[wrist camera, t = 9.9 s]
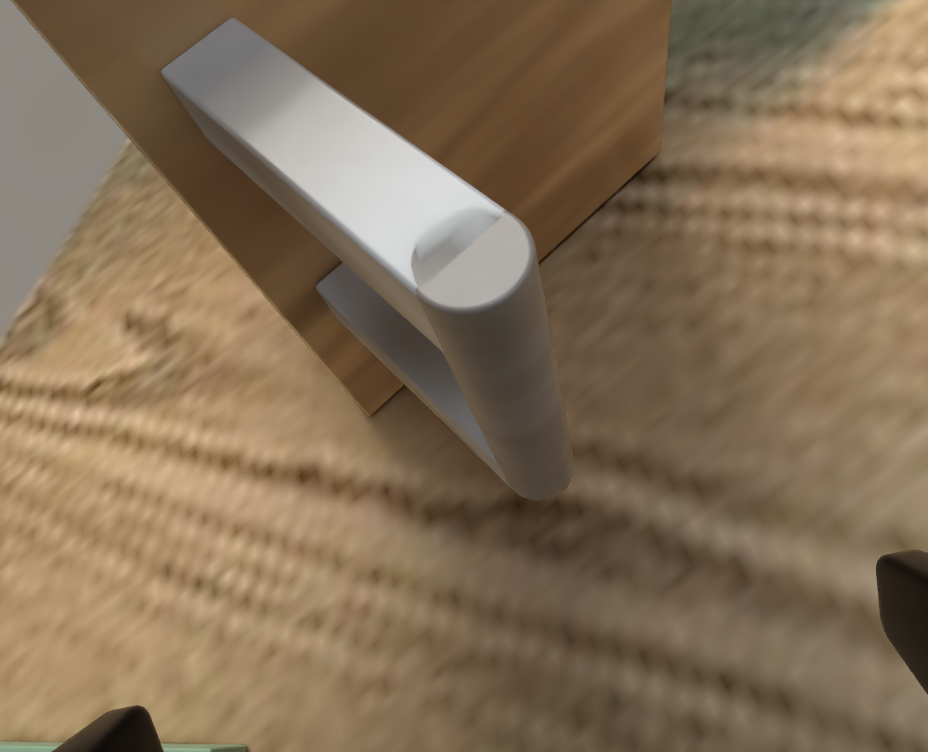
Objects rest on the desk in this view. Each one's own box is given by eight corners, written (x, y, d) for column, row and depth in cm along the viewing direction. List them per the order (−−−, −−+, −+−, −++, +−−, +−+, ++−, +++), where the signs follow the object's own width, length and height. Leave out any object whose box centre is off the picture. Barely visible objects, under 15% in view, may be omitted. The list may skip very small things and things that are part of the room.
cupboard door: (852, 259, 19) (1241, -493, 7) (532, 587, 17) (325, 297, 5) (641, 139, 22) (666, -501, 10) (353, 400, 20) (-21, -36, 8)
